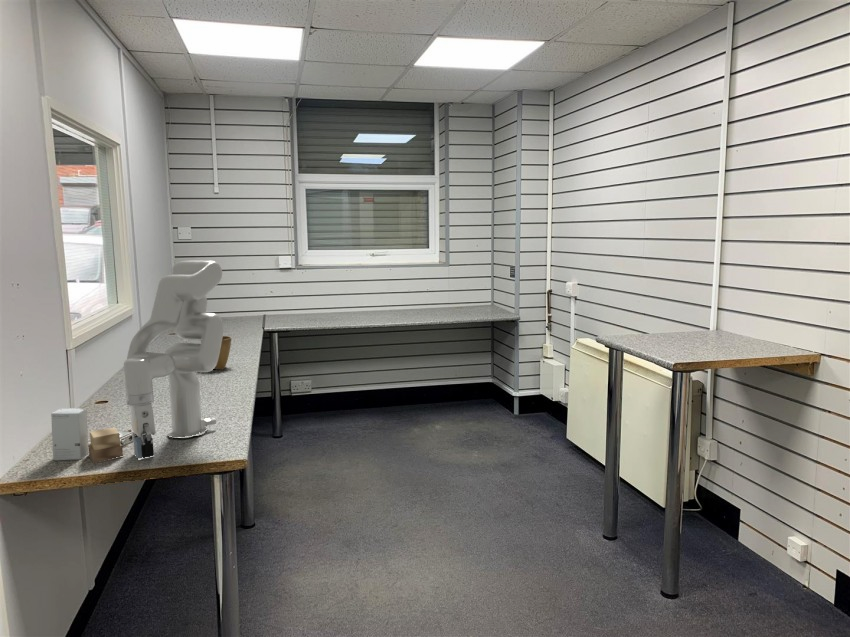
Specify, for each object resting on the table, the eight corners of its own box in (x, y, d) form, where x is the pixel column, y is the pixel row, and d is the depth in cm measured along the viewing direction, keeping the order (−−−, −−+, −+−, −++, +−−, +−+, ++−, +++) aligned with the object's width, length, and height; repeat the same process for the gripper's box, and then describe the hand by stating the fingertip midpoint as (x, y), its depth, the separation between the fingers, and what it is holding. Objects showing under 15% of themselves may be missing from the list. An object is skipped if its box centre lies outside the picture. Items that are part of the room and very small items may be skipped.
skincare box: (53, 461, 180) (48, 413, 178) (62, 454, 186) (58, 408, 184) (82, 459, 181) (78, 412, 179) (91, 452, 187) (86, 406, 185)
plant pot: (227, 371, 298) (225, 340, 296) (197, 371, 298) (196, 340, 296) (236, 365, 313) (235, 335, 311) (208, 365, 313) (206, 335, 311)
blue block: (150, 453, 186) (149, 434, 186) (154, 457, 183) (152, 438, 182) (134, 456, 184) (133, 437, 183) (138, 460, 180) (136, 441, 179)
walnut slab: (117, 450, 189) (116, 438, 189) (123, 457, 183) (122, 445, 183) (89, 456, 185) (88, 444, 184) (93, 464, 178) (92, 451, 178)
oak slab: (115, 439, 188) (114, 427, 188) (120, 445, 183) (119, 433, 182) (90, 444, 184) (89, 431, 183) (94, 450, 178) (93, 437, 178)
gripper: (160, 402, 176) (164, 457, 178) (146, 390, 190) (150, 441, 192) (133, 406, 172) (137, 463, 174) (120, 394, 185) (124, 447, 187)
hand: (144, 451), depth 183 cm, fingers open, 9 cm apart
